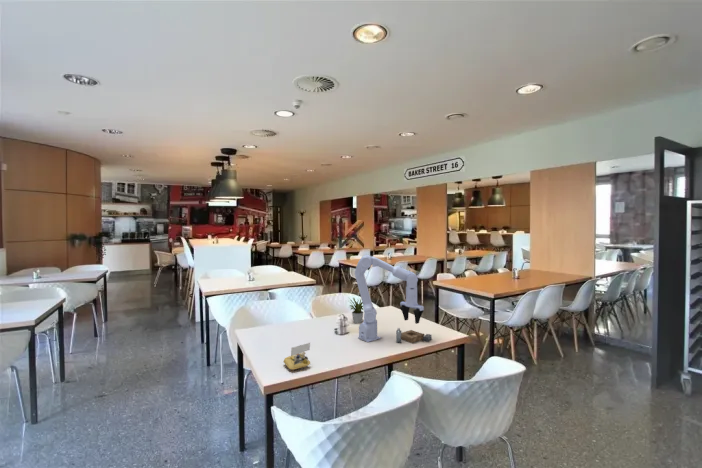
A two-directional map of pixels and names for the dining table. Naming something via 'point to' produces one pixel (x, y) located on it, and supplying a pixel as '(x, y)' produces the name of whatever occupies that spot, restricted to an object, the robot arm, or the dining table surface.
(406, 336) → the socket block
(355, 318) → the house plant
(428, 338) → the square bar
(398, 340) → the round bit
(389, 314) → the dining table surface
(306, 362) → the yellow card holder
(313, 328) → the dining table surface
